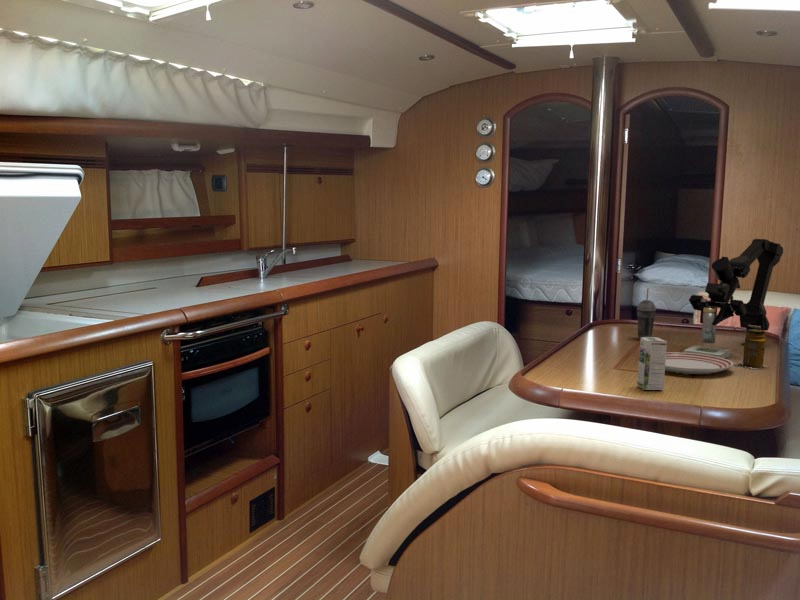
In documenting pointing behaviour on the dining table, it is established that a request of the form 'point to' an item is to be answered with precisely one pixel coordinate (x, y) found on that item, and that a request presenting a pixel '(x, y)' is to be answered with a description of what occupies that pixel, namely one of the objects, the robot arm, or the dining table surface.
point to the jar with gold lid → (708, 325)
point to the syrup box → (651, 363)
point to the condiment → (753, 349)
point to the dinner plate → (695, 363)
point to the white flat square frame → (708, 351)
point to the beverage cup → (645, 317)
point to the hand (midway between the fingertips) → (707, 323)
